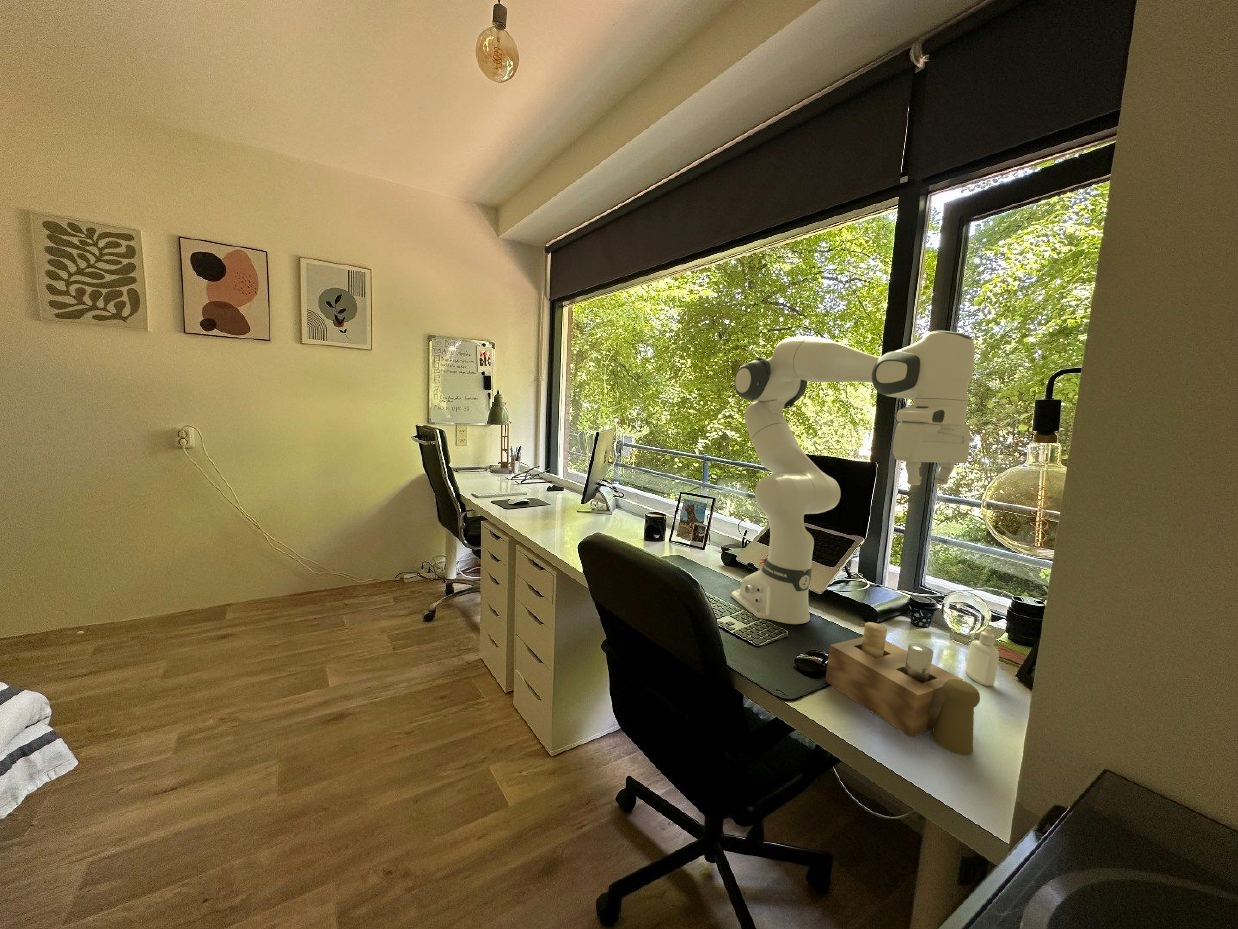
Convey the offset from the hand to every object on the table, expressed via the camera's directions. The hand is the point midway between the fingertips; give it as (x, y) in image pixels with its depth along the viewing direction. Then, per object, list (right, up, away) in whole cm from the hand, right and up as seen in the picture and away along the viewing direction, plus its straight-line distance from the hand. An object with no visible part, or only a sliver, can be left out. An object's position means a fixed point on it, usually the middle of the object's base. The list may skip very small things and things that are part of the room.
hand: (927, 484), depth 96 cm
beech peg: (-10, -37, +3) cm, 38 cm away
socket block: (-9, -43, -1) cm, 43 cm away
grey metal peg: (-6, -38, -5) cm, 39 cm away
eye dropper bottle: (+18, -44, +10) cm, 48 cm away
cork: (-4, -45, -12) cm, 46 cm away
